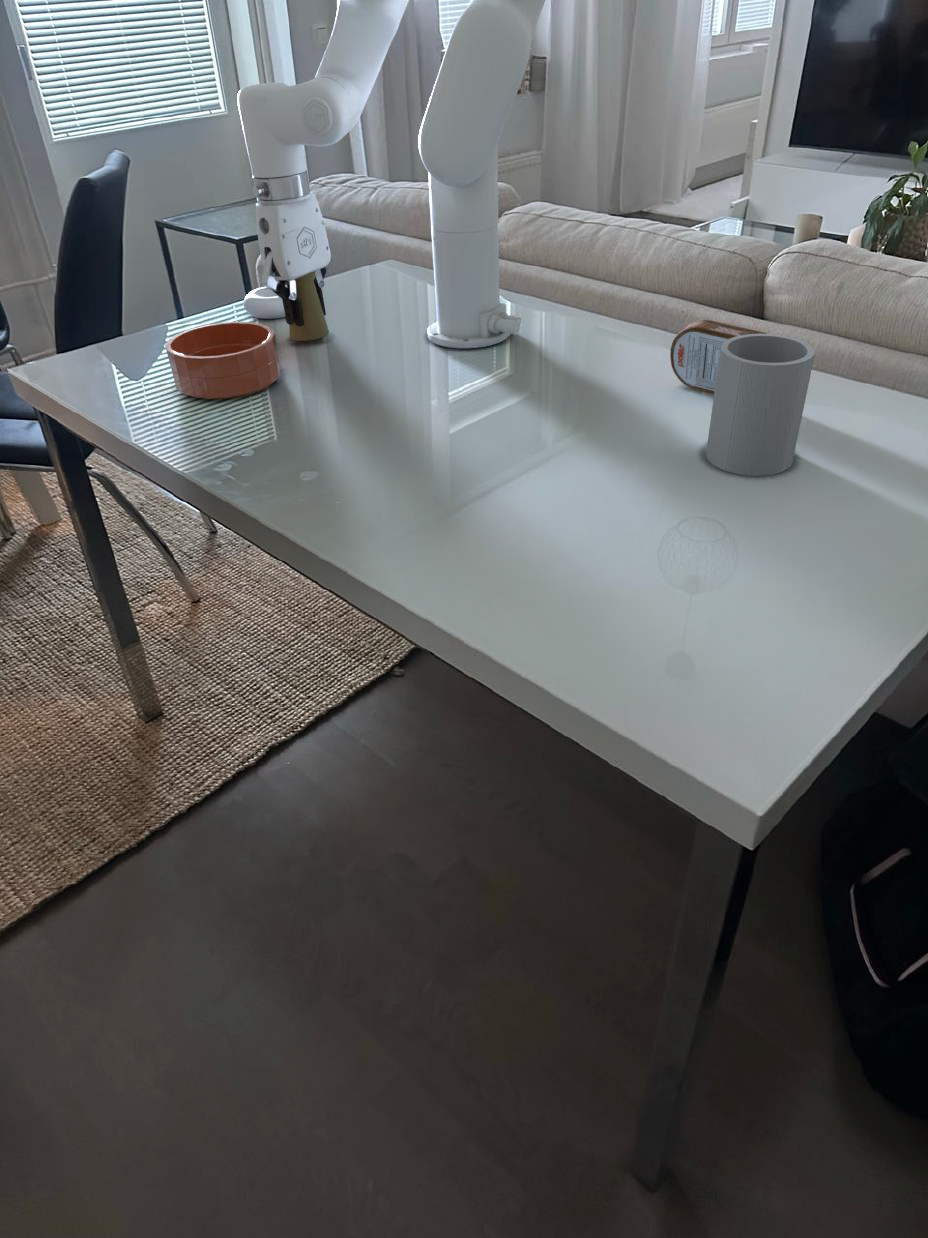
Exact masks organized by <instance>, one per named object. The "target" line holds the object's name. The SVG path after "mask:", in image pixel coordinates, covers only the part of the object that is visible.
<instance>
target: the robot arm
mask: <svg viewBox="0 0 928 1238" xmlns="http://www.w3.org/2000/svg"><path fill="white" fill-rule="evenodd" d="M409 2H410V0H337V10H336V16H335V20H334V24H333V28H332V31H331V35H330V37H329V41H328V44H327V46H326V49H325V51H324V54H323V56H322V59H321V61H320V64H319V66H318V69H317V71H316V74H315V76H314V78H312V79H310V80H308V81H304V82H301V83H297V84H293V85H288V84H286V83H283V82H263V83H258V84H257V83H256V84H251V85H247V86H244V87H242V88H241V89H239V91H238V93H237V106H238V111H239V115H240V121H241V126H242V131H243V136H244V142H245V147H246V151H247V155H248V161H249V165H250V170H251V175H252V180H253V184H254V185H253V186H252V187H251V194H252V195H253V197H255V198H256V201H257V203H255V217H256V218H255V220H256V221H255V223H256V233H257V240H258V246H259V247H258V248H259V252H260V257H261V263H262V267H263V271H262V276H261V281H260V285H261V286H262V287H266V288H268V289H271V290H272V291H273V292H274V293H276V294H277V296H278V297H279V298H281V299H282V301H283V306H284V311H285V316H286V317H285V320H286V324H287V325H288V326H289V325H293V322H294V323H295V324H296V325H297V326H300V327H301V326H303V325H304V319H303V311H302V306H301V301H300V299H299V298H296V281H295V279H296V278H299V277H302V276H304V275H306V274H308V273H310V272H314V271H316V273H315V278H314V284H315V287H316V291H317V294H318V297H319V300H320V304H321V307H322V310H323V314H324V317H325V316H327V313H326V305H325V300H324V299H325V298H324V295H323V288H324V287H325V281H324V280H325V277H326V274H327V270H328V269H329V267H330V265H331V263H332V261H333V258H332V255H331V250H330V244H329V243H330V242H329V238H328V234H327V230H326V225H325V221H324V217H323V214H322V210H321V208H320V207H321V206H320V204H319V202H318V199H317V196H316V195H315V193H314V192H311V187H310V186H311V185H310V181H309V175H308V168H307V163H306V157H305V151H304V146H310V147H328V146H332V145H335V144H337V143H338V142H340V141H341V140H343V138H344V137H346V135H347V134H348V133H349V132H351V131H352V130H353V129H354V128H355V126H356V125H357V123H358V121H359V119H360V118H361V116H362V114H363V111H364V108H365V106H366V104H367V102H368V99H369V98H370V95H371V92H372V91H373V88H374V85H375V84H376V81H377V78H378V76H379V74H380V71H381V69H382V66H383V64H384V61H385V59H386V56H387V53H388V51H389V49H390V46H391V44H392V42H393V40H394V38H395V37H396V34H397V32H398V29H399V26H400V24H401V21H402V19H403V16H404V14H405V12H406V9H407V7H408V4H409ZM545 2H546V0H469V3H468V4H467V6H466V8H465V9H464V10H463V11H462V13H461V14H460V15H459V17H458V19H456V22H455V23H454V26H453V29H452V31H451V34H450V37H449V39H448V41H447V46H446V49H445V51H444V55H443V57H442V61H441V64H440V68H439V70H438V73H437V76H436V80H435V83H434V85H433V89H432V92H431V95H430V97H429V101H428V104H427V107H426V110H425V113H424V116H423V118H422V122H421V126H420V129H419V134H418V152H419V157H420V159H421V162H422V164H423V166H424V169H425V170H426V172H427V173H428V192H429V212H430V232H431V247H432V248H431V249H432V264H433V265H432V266H433V278H434V294H435V295H434V297H435V310H436V312H435V313H436V321H435V322H432V323H431V324H430V325H429V326H428V328H427V338H428V340H429V341H430V342H432V343H433V344H435V345H437V346H440V347H445V348H449V349H451V348H452V349H479V348H484V347H485V348H486V347H490V346H493V345H496V344H500V343H502V342H503V341H505V340H507V339H508V338H509V337H510V336H511V335H518V334H519V332H520V329H521V323H522V317H520V316H517V315H510V314H509V315H508V313H507V304H506V303H502V302H501V297H500V296H501V295H500V292H501V291H500V255H499V254H500V252H499V248H500V247H499V183H498V182H499V142H500V139H501V137H502V133H503V131H504V129H505V125H506V124H507V121H508V118H509V116H510V113H511V111H512V108H513V105H514V103H515V99H516V97H517V94H518V91H519V89H520V88H521V87H520V86H521V84H522V81H523V78H524V75H525V72H526V70H527V67H528V64H529V60H530V55H531V47H532V41H533V37H534V33H535V31H536V27H537V25H538V22H539V18H540V16H541V14H542V10H543V8H544V5H545ZM284 281H287V285H288V288H287V287H286V284H285V282H284Z"/></svg>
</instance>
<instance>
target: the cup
mask: <svg viewBox="0 0 928 1238" xmlns="http://www.w3.org/2000/svg"><path fill="white" fill-rule="evenodd" d="M815 356H816V350H815V348H814V346H812V345H811V343H808V342H806V341H804V340H802V339H799V338H796V337H792V336H788V335H783V334H774V333H767V334H747V335H741V336H736V337H733V338H730V339H728V340H726V341H724V342H723V343H722V345H721V349H720V356H719V363H718V370H717V378H716V385H715V392H714V394H713V400H712V407H711V413H710V422H709V429H708V436H707V443H706V451H705V455H706V456H705V457H706V459H707V461H708V462H709V463H711V465H713V466H714V467H716V468H718V469H720V470H722V471H725V472H727V473H731V474H735V475H739V476H748V477H749V476H752V477H764V476H771V475H776V474H779V473H782V472H784V471H786V470H788V469H789V468H790V467H791V466H792V464H793V462H794V457H795V453H796V447H797V443H798V437H799V432H800V428H801V423H802V418H803V412H804V408H805V403H806V398H807V394H808V389H809V384H810V379H811V375H812V370H813V364H814V359H815Z"/></svg>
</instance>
